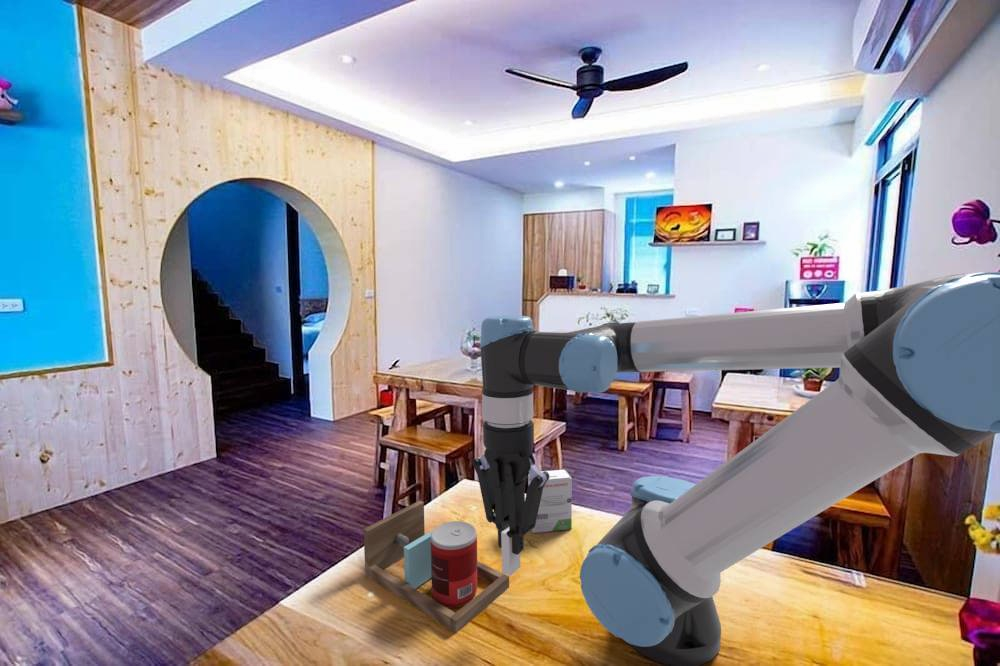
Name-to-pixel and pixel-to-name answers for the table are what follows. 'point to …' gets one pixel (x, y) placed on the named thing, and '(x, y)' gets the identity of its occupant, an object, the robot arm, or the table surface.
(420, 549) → the panel
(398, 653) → the table surface
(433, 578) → the canned food
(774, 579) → the table surface
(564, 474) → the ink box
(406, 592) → the brown open rectangular frame
